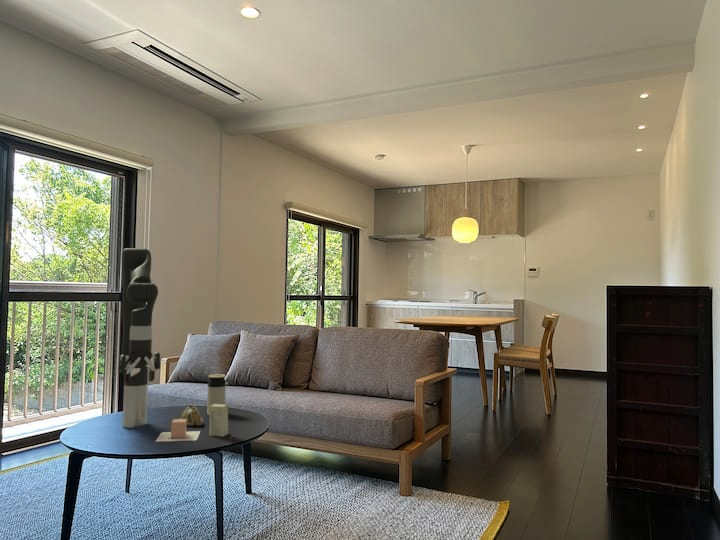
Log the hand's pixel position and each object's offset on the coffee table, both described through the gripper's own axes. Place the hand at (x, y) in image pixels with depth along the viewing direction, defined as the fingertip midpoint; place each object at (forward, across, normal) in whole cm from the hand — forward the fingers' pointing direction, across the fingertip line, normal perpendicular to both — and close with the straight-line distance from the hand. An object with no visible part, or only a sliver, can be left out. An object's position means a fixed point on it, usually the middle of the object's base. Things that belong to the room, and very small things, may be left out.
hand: (139, 382), depth 192 cm
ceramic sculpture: (+25, -31, -18) cm, 43 cm away
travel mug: (+25, -49, -28) cm, 62 cm away
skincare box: (+24, -31, +4) cm, 39 cm away
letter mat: (+24, -18, -4) cm, 30 cm away
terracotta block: (+24, -18, -4) cm, 30 cm away
